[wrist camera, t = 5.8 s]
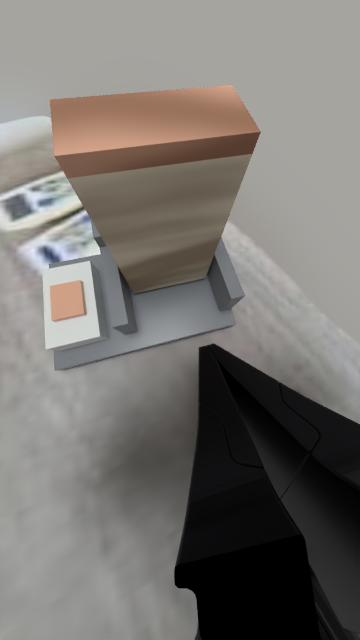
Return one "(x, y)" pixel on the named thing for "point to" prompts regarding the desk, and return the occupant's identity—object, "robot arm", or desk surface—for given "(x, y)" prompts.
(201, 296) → the console
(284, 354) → the desk surface
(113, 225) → the key
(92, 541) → the desk surface
